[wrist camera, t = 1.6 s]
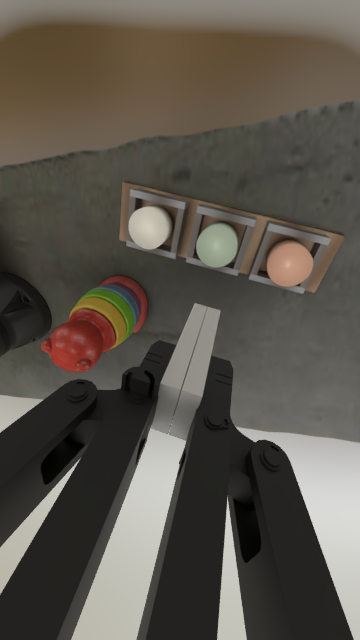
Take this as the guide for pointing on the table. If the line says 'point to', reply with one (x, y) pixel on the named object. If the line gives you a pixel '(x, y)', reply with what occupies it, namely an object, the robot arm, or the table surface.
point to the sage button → (217, 244)
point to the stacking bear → (98, 324)
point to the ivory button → (150, 226)
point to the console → (250, 228)
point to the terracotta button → (289, 263)
